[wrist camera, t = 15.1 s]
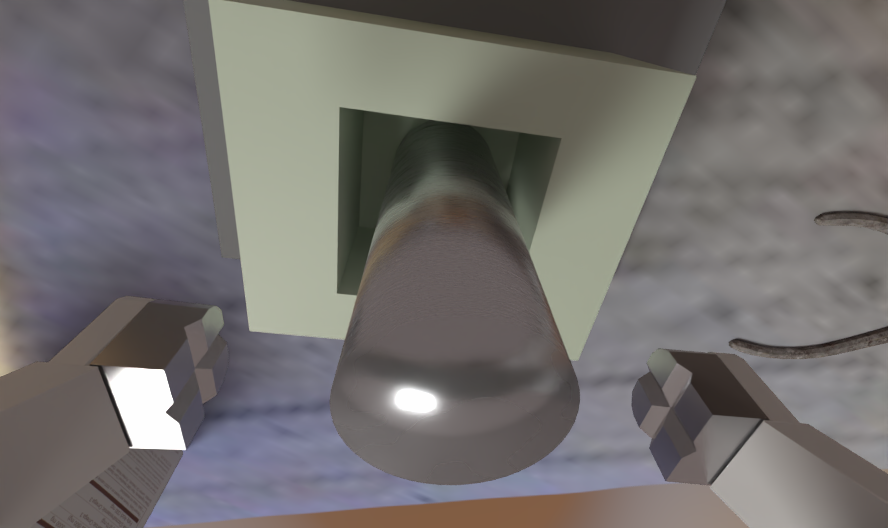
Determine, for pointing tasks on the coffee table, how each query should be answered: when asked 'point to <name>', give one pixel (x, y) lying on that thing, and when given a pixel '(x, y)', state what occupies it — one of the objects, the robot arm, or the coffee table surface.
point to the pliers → (838, 346)
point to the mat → (486, 10)
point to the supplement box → (118, 493)
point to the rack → (393, 116)
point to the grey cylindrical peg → (451, 327)
